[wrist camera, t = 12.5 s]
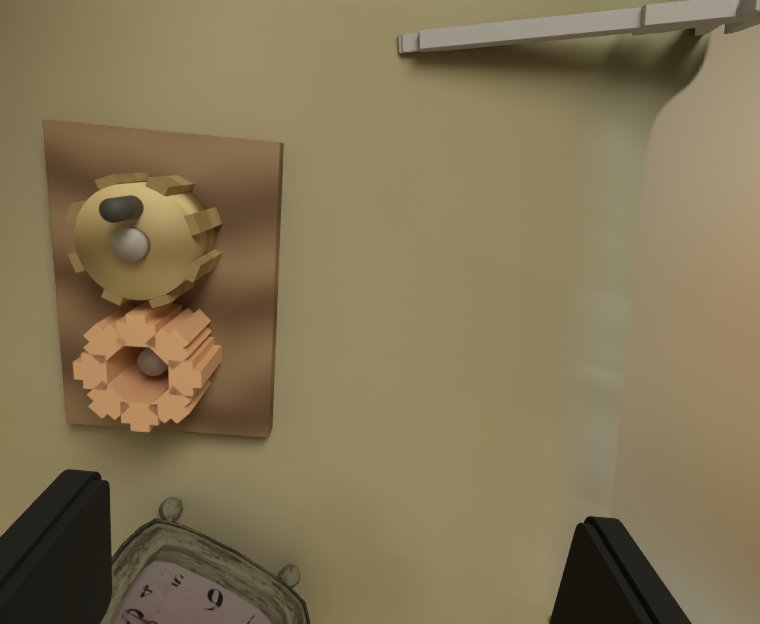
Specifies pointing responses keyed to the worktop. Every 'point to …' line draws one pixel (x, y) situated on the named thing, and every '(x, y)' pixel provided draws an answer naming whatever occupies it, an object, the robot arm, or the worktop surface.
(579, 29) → the caliper
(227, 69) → the worktop surface
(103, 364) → the terracotta gear
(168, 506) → the tabletop clock
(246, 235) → the gear board
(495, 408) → the worktop surface
